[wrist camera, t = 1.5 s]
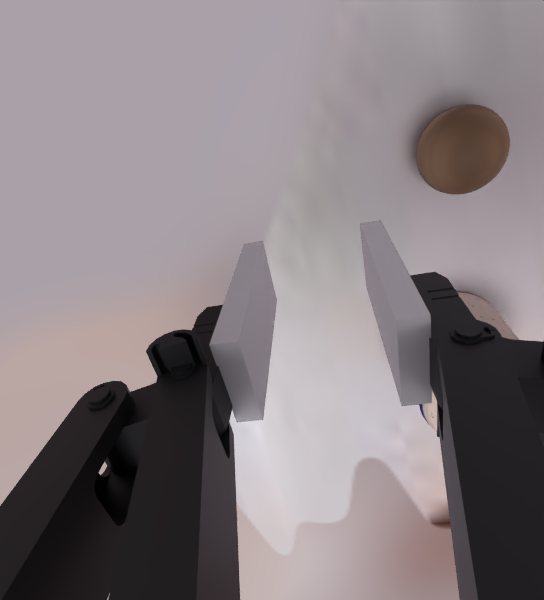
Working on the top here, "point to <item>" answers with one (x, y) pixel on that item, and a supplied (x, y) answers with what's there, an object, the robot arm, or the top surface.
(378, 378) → the top surface
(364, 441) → the top surface
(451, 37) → the top surface
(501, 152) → the walnut ball
